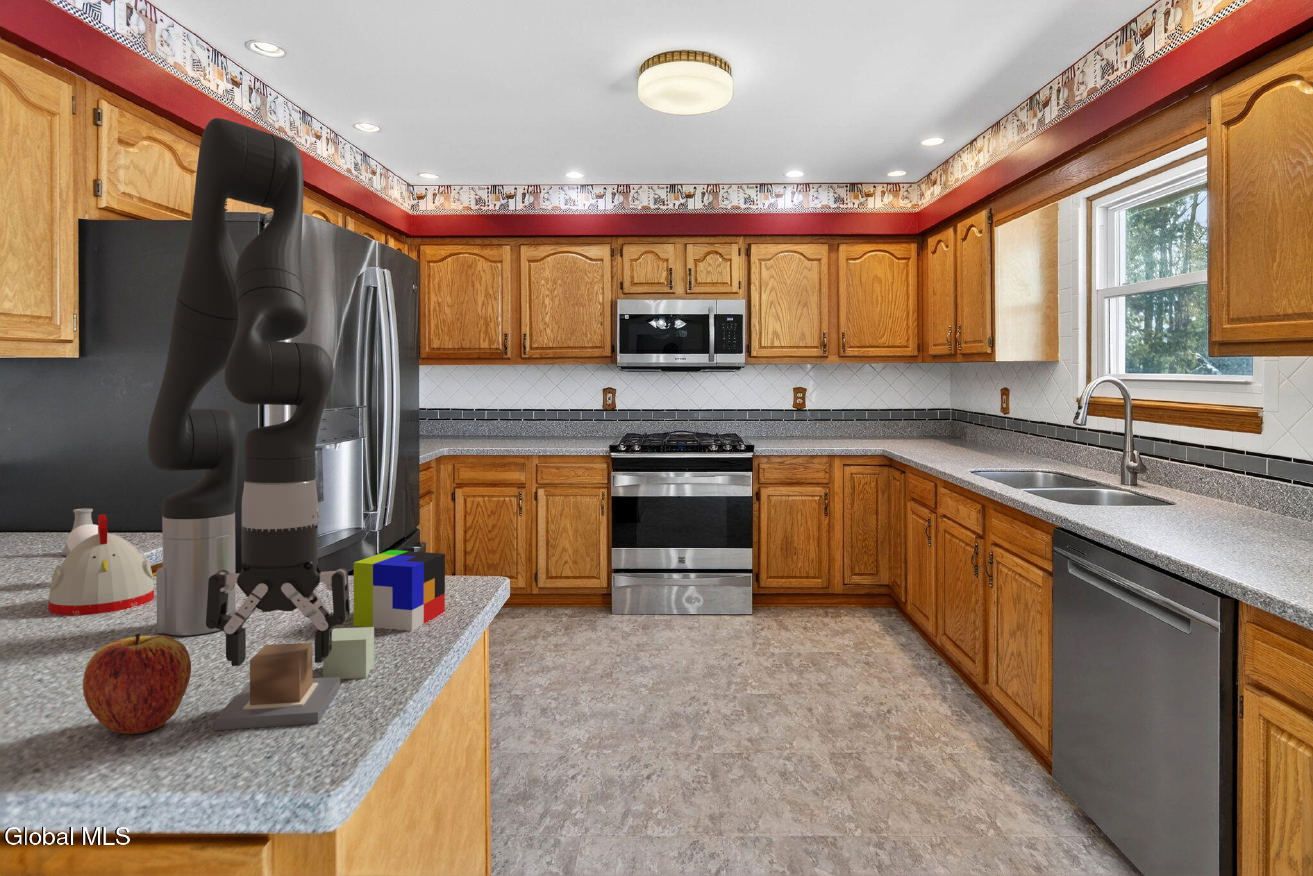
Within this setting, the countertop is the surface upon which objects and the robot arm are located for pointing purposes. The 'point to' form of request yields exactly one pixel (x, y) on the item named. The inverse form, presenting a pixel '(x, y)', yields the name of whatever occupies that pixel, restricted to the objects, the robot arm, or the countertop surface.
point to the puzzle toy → (399, 589)
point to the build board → (279, 708)
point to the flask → (79, 523)
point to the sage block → (350, 653)
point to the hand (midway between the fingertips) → (280, 662)
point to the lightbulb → (81, 535)
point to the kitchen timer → (101, 577)
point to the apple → (137, 682)
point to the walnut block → (280, 673)
